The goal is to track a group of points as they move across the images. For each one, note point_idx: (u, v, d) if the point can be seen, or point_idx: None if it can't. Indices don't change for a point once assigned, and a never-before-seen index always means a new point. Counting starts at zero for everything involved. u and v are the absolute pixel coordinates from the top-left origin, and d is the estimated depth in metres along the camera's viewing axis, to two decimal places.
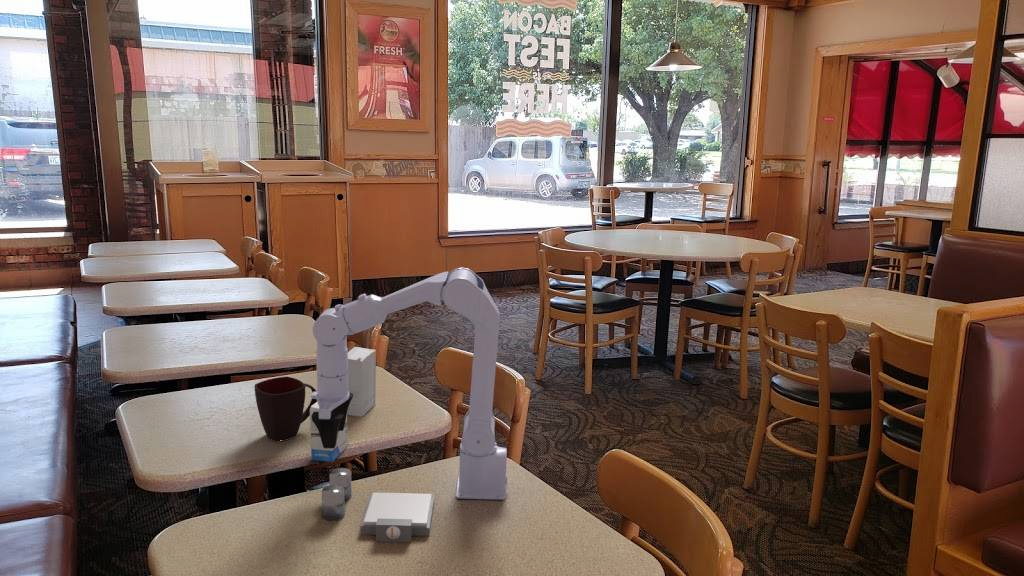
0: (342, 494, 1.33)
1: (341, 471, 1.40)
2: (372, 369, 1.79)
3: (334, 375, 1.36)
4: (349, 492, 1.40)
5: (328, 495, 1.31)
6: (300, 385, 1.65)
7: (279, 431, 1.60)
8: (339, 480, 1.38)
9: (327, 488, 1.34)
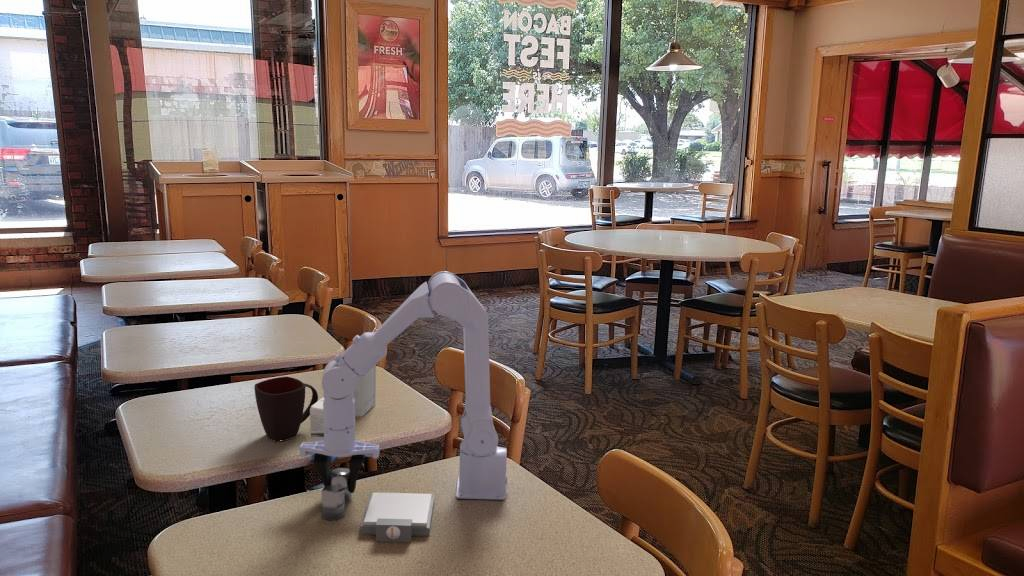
0: (342, 494, 1.33)
1: (341, 471, 1.40)
2: (372, 369, 1.79)
3: (343, 427, 1.35)
4: (349, 492, 1.40)
5: (329, 495, 1.31)
6: (300, 385, 1.65)
7: (279, 431, 1.60)
8: (339, 480, 1.38)
9: (327, 488, 1.34)
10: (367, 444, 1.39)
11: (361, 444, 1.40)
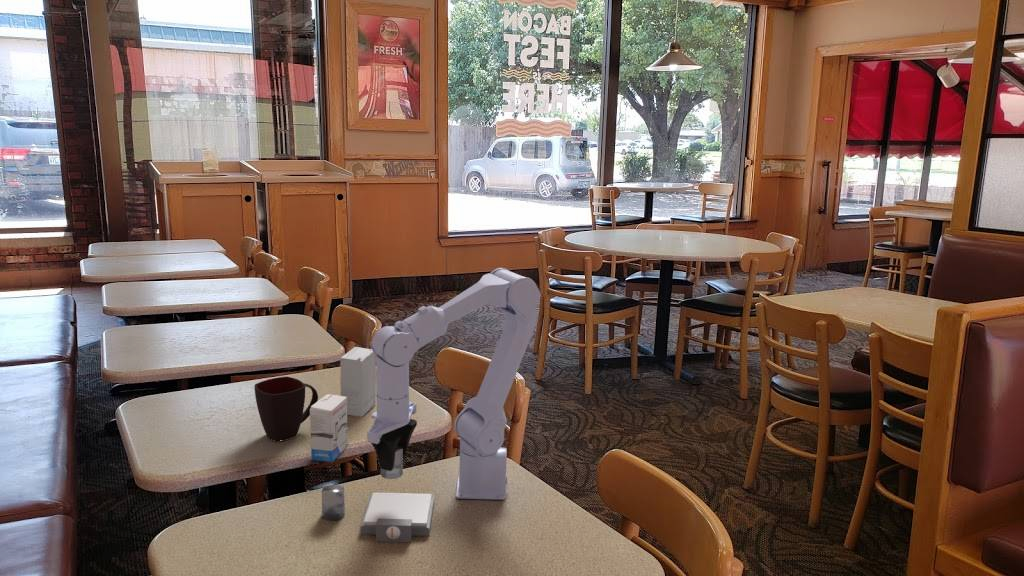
0: (342, 494, 1.33)
1: None
2: (372, 369, 1.79)
3: (403, 396, 1.29)
4: None
5: (328, 495, 1.31)
6: (300, 385, 1.65)
7: (279, 431, 1.60)
8: (401, 452, 1.33)
9: (327, 487, 1.34)
10: None
11: None
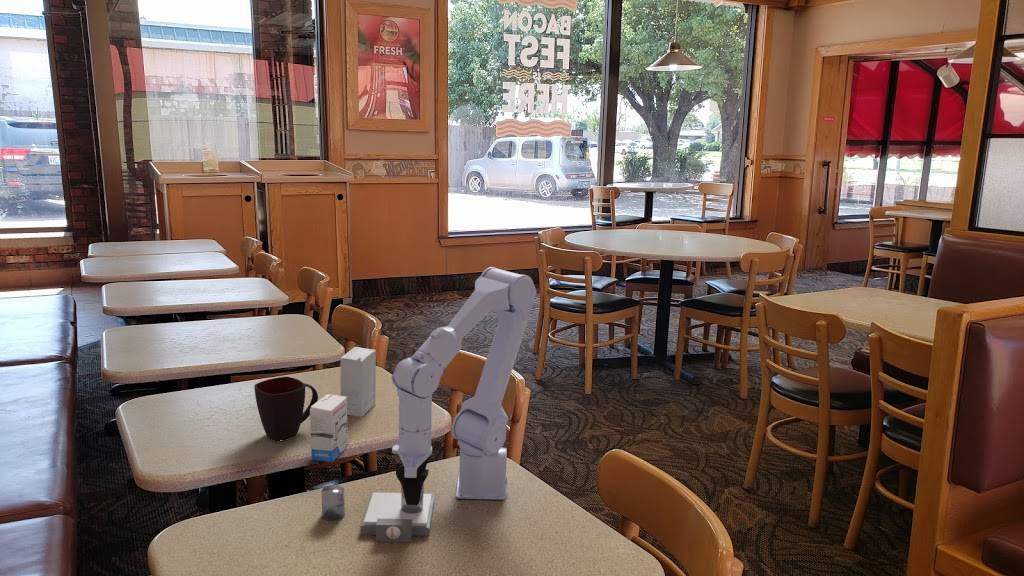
0: (342, 494, 1.33)
1: None
2: (372, 369, 1.79)
3: (429, 426, 1.29)
4: None
5: (328, 496, 1.31)
6: (300, 385, 1.65)
7: (279, 431, 1.60)
8: (423, 484, 1.33)
9: (327, 488, 1.34)
10: None
11: None
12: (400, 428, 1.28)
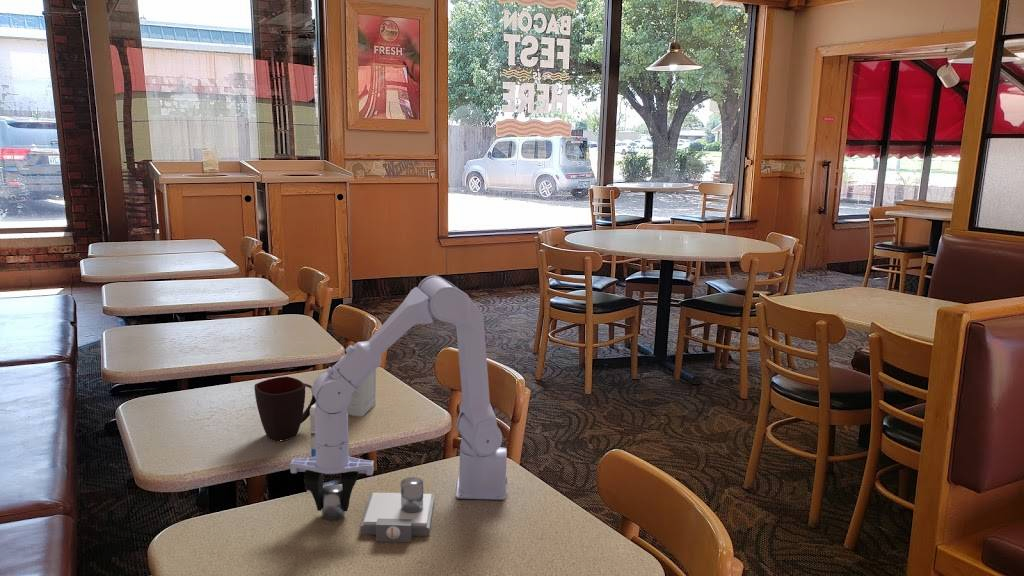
0: (342, 494, 1.33)
1: (408, 481, 1.33)
2: None
3: (340, 443, 1.29)
4: None
5: (328, 495, 1.31)
6: (300, 385, 1.65)
7: (279, 431, 1.60)
8: None
9: (328, 487, 1.34)
10: (361, 460, 1.33)
11: (355, 460, 1.33)
12: None
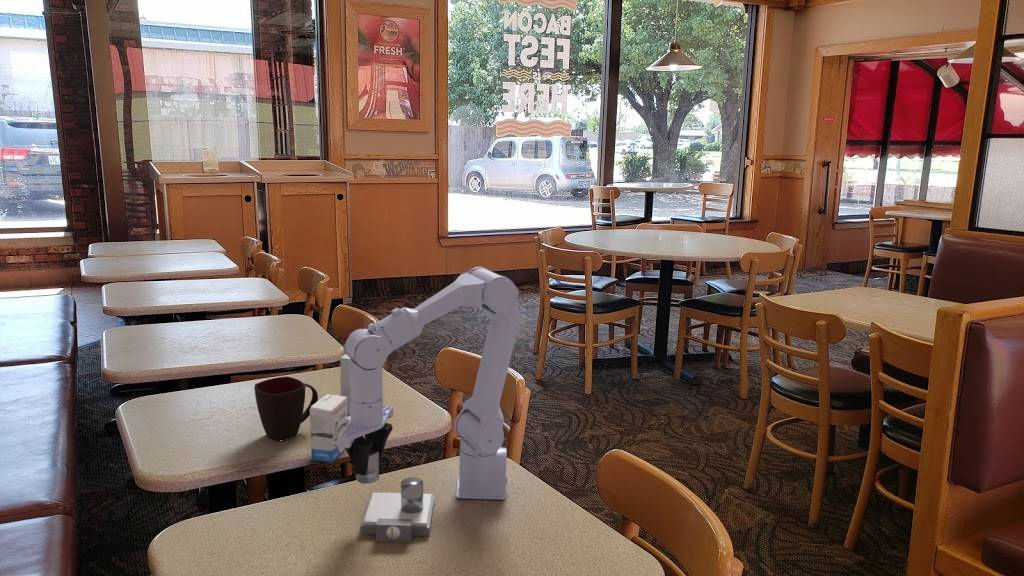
0: None
1: (408, 482, 1.33)
2: None
3: (376, 399, 1.27)
4: None
5: (374, 456, 1.30)
6: (300, 385, 1.65)
7: (279, 431, 1.60)
8: None
9: None
10: None
11: None
12: (350, 398, 1.28)
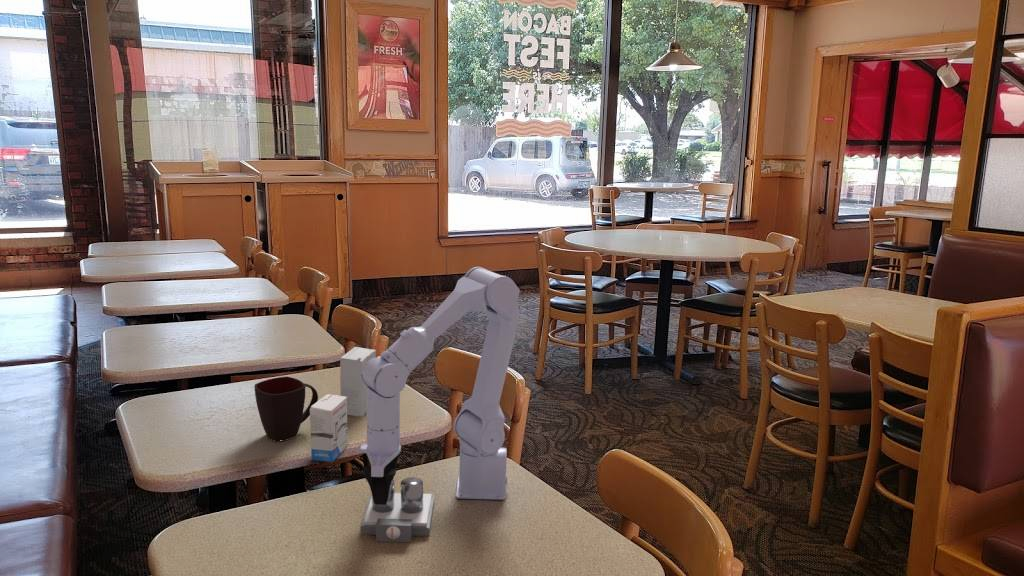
0: None
1: (408, 482, 1.32)
2: None
3: (394, 426, 1.28)
4: None
5: (393, 483, 1.32)
6: (300, 385, 1.65)
7: (279, 431, 1.60)
8: (422, 483, 1.33)
9: None
10: None
11: None
12: (368, 427, 1.28)
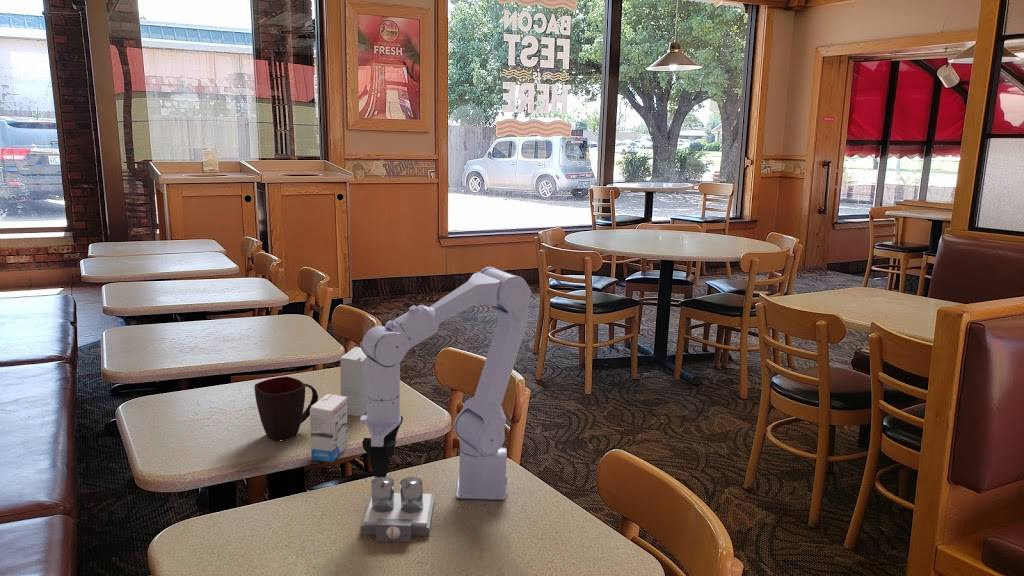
0: None
1: (407, 482, 1.33)
2: None
3: (394, 396, 1.27)
4: None
5: (392, 482, 1.32)
6: (300, 385, 1.65)
7: (279, 431, 1.60)
8: None
9: (377, 484, 1.31)
10: None
11: None
12: (368, 397, 1.27)
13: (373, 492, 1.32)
